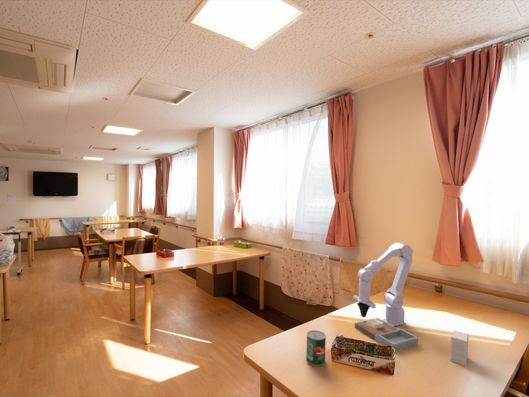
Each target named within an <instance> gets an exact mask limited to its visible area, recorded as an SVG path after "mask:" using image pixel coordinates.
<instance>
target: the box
mask: <svg viewBox="0 0 529 397" xmlns="http://www.w3.org/2000/svg"><path fill="white" fill-rule="evenodd" d="M374 341H375V342H377V343H378V344H379V345H381V344H382V345H381V346H383V345H392V346H393V348H394V349H395V352H394V353H396V352H400V351H403V350H406V349H410V348H413V347H417V346H419V337H418V336H416V335H414V334H412V333H410V332H408V331H406V330H404V329H402V328H399V330H395V331H391V332H387V333H383V334H377V335H375V340H374Z"/></svg>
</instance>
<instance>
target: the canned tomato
mask: <svg viewBox="0 0 529 397" xmlns="http://www.w3.org/2000/svg"><path fill="white" fill-rule="evenodd" d="M326 338H327V336H326V334H325V333H324V332H323V331H320V330H309V331H308V332H307V333H306V353H305V354H306V358H305V360H306V363H307V364H309V365H312V366H315V367H321V366H324V365H325V363H326Z"/></svg>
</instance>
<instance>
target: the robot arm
mask: <svg viewBox="0 0 529 397" xmlns="http://www.w3.org/2000/svg"><path fill="white" fill-rule="evenodd" d="M413 253H414V249H413V248H412V247H411V246H410V245H409V244H405V243H402V242H399V241H395V242H394V243H392V244H391V245H390V246H389V247H388V249H387V250H386V251H385V252H384V253H383V254H382V255H381V256H380V257H379V258H377V259H373V260H370V263H368V264H367V265H366V266H364V267H363V268H360V269H359V270H358V272H357V274H356V275H357V278H358V295H357V294H355V295H353V296H352V297H353V300H356V302H357V303H356V304H357V306H358V309H359V311H360V316H361V317H362V318H367V317H366V316H367V314H368V311H369V309H370V308H371V309H376V303H374V302H373V301H372V300H371V282H372V280H373V278H374V275H376V274H377V273H378V272H379V271H380V270H382V267H383V265H384V264H386V263H387V262H388V261H390V260H391V259H392V258H394V257H398V259H399V260H400V261H399V264H398V268H397V270H396V273H395V276H394V279H393V282H392V284H391V287H389V288H388V289H387V290H386V292H385V293H384V294H383V300H384V302H385V318H383V319H381V320H382V321H384V322H386V323H388V324H389V325H391V326H393V327H397V326H401V325H405V324H406V322H405V309H404V307H403V304H404V293H403V289H404V286H405V283H406V281H407V278H408V275H409V271H410V270H411V266H412V264H413Z"/></svg>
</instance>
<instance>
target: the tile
mask: <svg viewBox="0 0 529 397" xmlns="http://www.w3.org/2000/svg"><path fill="white" fill-rule="evenodd" d="M365 321H366V324H367V325H369V326H371V327H372V328H374V329H377V328H381V327H384V323H383V322H381V321H379V320H377V319H376V318H375V317H374V318H371V319H365Z"/></svg>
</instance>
